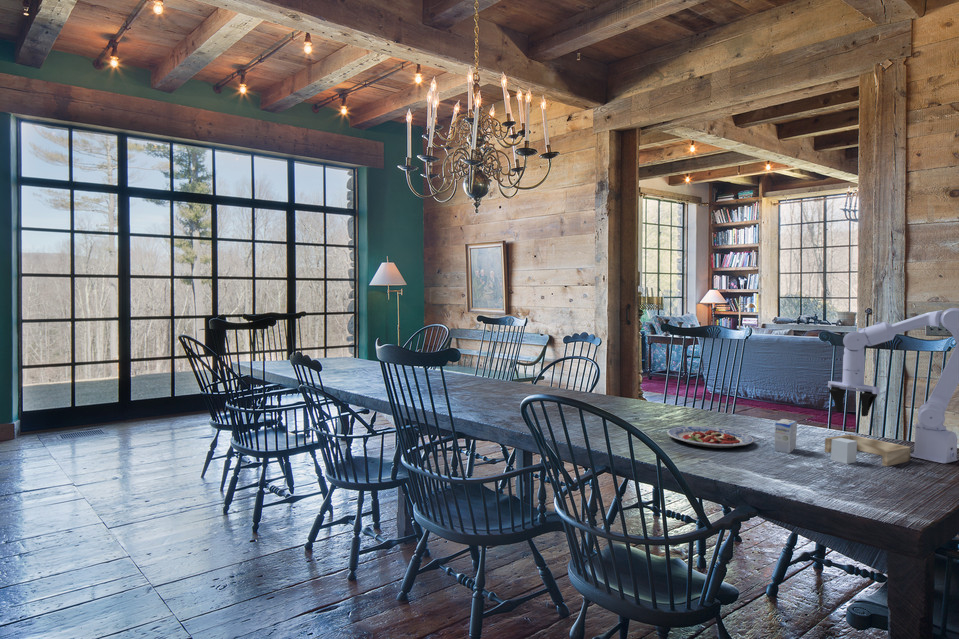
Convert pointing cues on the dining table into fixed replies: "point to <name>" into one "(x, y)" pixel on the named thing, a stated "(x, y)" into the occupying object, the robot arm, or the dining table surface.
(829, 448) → the birch frame
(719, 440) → the ceramic plate
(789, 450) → the medicine box
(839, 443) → the block
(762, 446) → the dining table surface
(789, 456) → the dining table surface
